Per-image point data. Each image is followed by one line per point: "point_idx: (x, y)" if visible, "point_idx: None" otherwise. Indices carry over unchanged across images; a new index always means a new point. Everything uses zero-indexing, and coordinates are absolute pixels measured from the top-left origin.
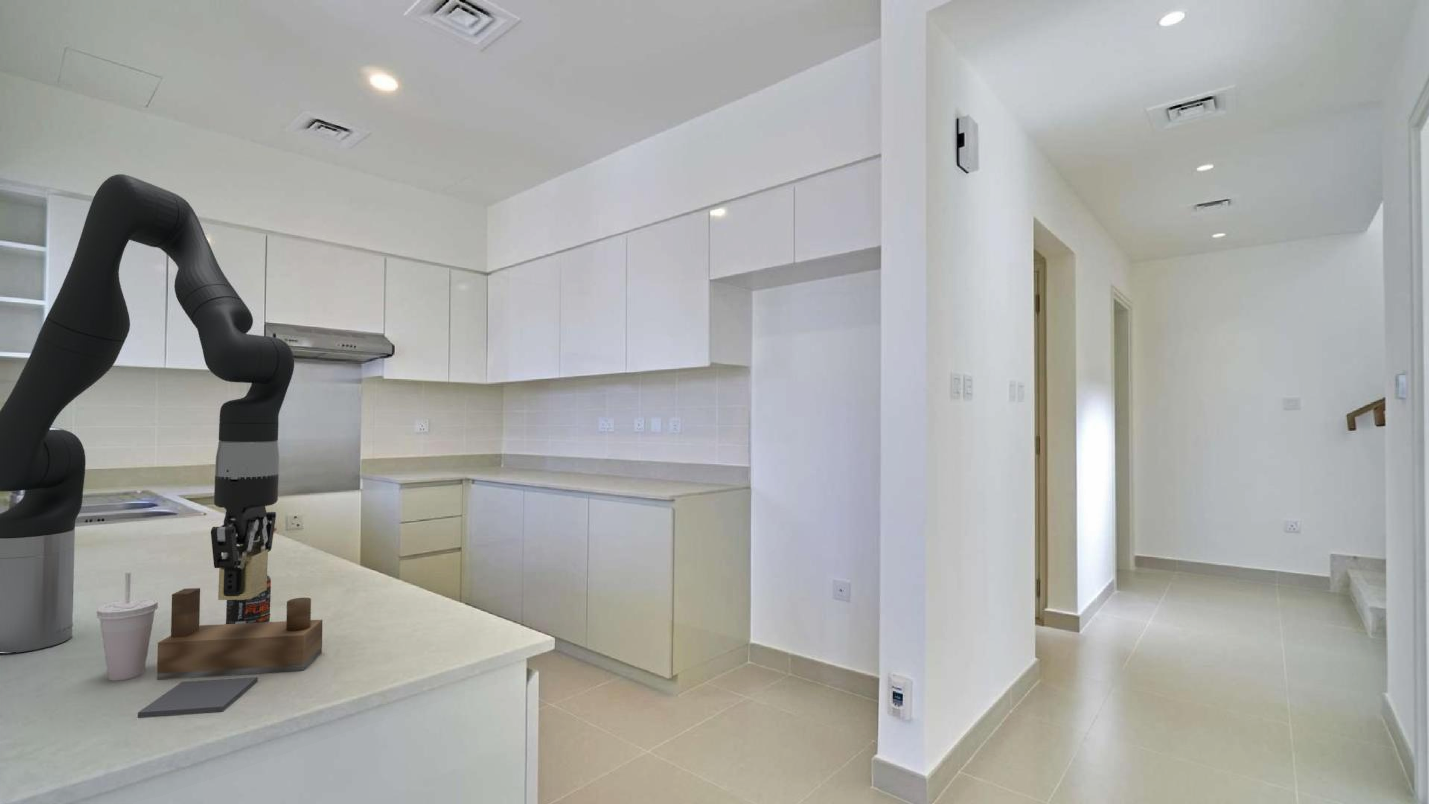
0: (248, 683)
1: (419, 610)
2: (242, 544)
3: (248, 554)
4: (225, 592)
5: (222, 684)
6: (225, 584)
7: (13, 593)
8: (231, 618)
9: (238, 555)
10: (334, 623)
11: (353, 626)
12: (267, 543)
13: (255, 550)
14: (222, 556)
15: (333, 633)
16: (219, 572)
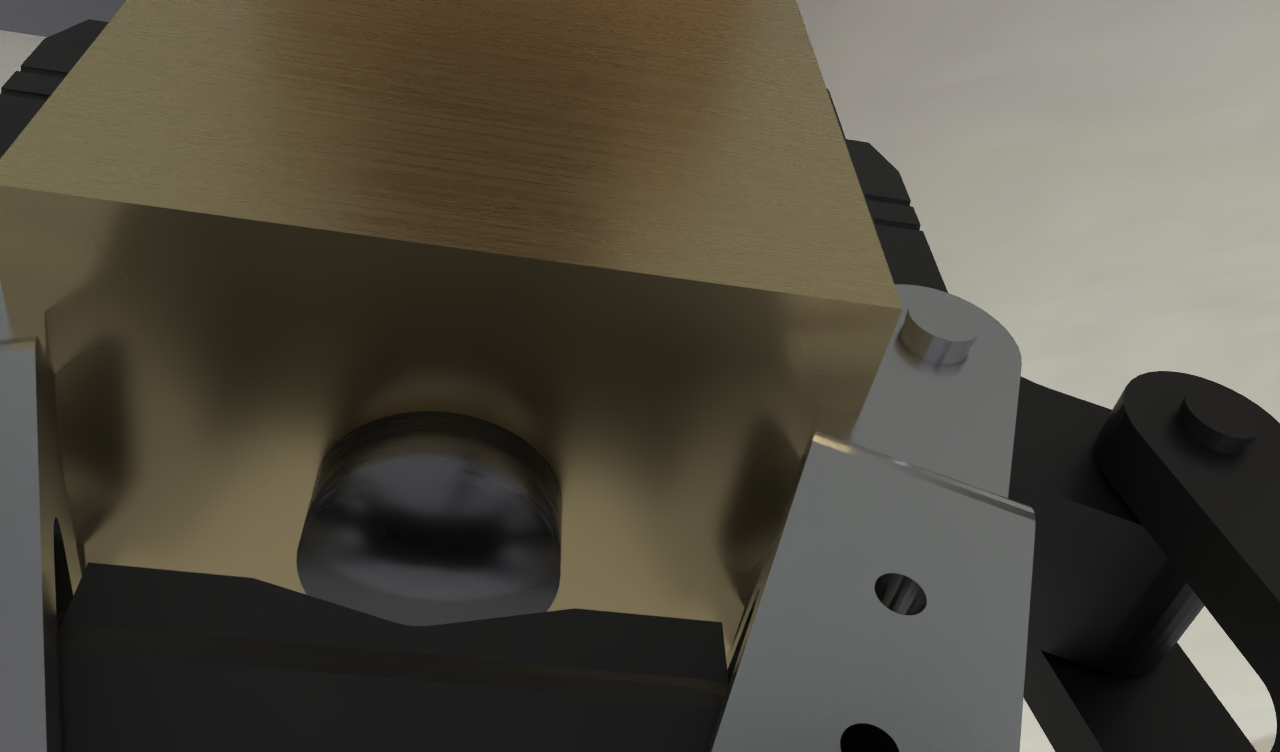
0: (30, 25)
1: (1221, 637)
2: (788, 504)
3: (291, 578)
4: (83, 33)
5: None
6: (20, 90)
7: None
8: None
9: (191, 466)
10: (1275, 270)
11: (1117, 382)
12: (1042, 710)
13: (666, 595)
14: (86, 212)
15: (1027, 298)
16: (118, 21)
